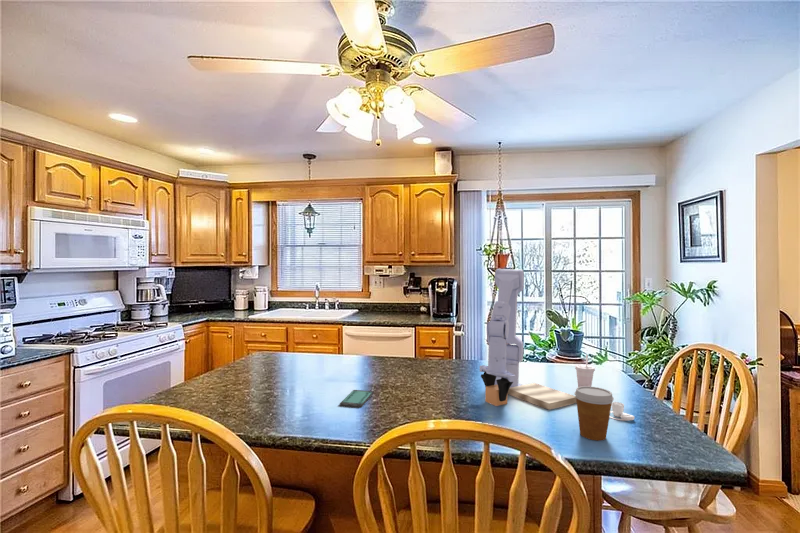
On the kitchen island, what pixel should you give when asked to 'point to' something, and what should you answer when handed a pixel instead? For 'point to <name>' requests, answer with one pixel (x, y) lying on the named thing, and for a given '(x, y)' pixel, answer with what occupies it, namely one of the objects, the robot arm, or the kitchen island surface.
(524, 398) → the base board
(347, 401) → the smartphone
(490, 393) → the block
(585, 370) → the smoothie
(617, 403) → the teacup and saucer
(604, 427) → the disposable coffee cup
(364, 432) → the kitchen island surface
